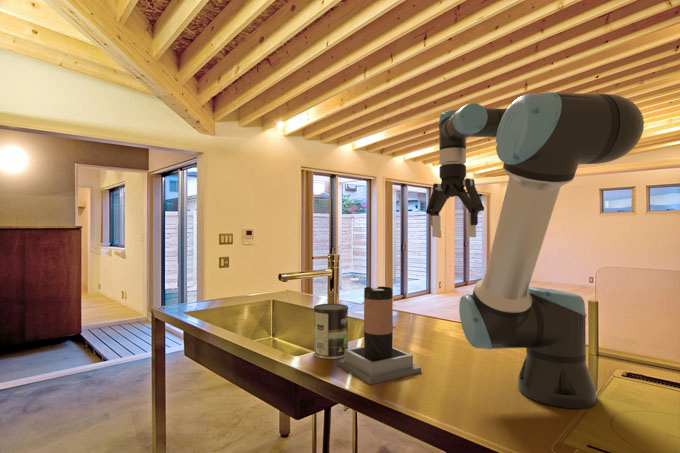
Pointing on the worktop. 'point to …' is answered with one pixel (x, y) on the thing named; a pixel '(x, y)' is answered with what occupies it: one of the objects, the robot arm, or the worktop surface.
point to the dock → (378, 365)
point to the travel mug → (378, 323)
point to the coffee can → (330, 330)
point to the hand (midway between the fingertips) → (453, 237)
